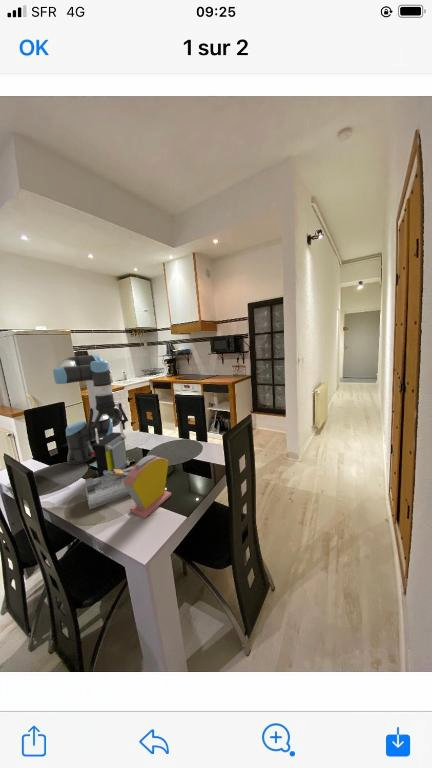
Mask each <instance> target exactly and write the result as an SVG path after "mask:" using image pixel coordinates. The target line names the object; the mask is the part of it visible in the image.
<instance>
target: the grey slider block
mask: <svg viewBox="0 0 432 768" xmlns="http://www.w3.org/2000/svg"><path fill="white" fill-rule="evenodd" d="M93 479H94V478H93V477H89V478H86V479H85V480H84V481H85V482H86V483H85V486H86V487H87V492H91V491H94V490H95V486H96V485H99V484H101V480H100V478H99V479H96V480H93Z"/></svg>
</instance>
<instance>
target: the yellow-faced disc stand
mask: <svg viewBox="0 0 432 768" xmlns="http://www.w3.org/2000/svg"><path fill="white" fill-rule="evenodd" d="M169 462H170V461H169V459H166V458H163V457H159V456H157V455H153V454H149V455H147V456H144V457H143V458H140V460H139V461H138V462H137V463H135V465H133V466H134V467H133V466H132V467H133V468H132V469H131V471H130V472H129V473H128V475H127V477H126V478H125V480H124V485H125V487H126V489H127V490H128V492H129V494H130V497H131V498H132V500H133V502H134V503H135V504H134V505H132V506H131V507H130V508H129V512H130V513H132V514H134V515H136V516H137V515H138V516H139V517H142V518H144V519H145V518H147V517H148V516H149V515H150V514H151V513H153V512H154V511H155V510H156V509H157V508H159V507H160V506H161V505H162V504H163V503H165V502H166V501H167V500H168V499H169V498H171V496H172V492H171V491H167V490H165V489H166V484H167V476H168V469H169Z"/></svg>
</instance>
